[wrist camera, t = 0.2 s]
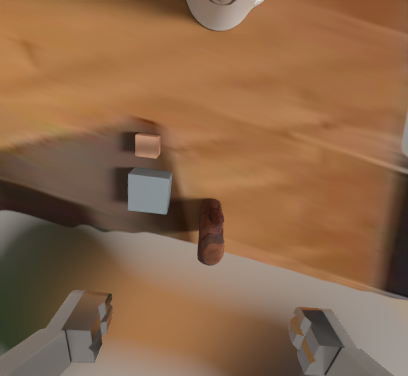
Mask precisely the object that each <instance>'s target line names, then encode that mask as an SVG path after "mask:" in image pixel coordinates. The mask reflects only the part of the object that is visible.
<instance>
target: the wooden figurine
mask: <svg viewBox="0 0 408 376" xmlns="http://www.w3.org/2000/svg"><path fill="white" fill-rule="evenodd" d="M223 222H224V217H223V213H222V209H221V204H220V201H218V200H215V199H207V200H206V201H204V203H203V205H202V207H201V212H200V223H199V241H198V260H199V261H200V262H201V263H203V264H206V265H214V264H217V263H218V262H219V261H220V260H221V259H222V257H223V253H224V239H223Z"/></svg>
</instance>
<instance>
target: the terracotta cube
mask: <svg viewBox="0 0 408 376" xmlns="http://www.w3.org/2000/svg"><path fill="white" fill-rule="evenodd" d="M160 143H161V135H159V134H151V133H144V132H140V133H138V134H136V135H135V156H140V157H149V158H157V157H158V156H159V155H160Z"/></svg>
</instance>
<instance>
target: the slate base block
mask: <svg viewBox="0 0 408 376" xmlns="http://www.w3.org/2000/svg"><path fill="white" fill-rule="evenodd" d="M171 181H172V172H168V171H160V170H152V169H144V168H137V167H135V168H134V169H133V170H132V171H131V172H130V173H129V174H128V210H131V211H140V212H149V213H158V214H167V211H168V208H169V204H170V192H171Z"/></svg>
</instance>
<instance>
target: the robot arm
mask: <svg viewBox="0 0 408 376" xmlns="http://www.w3.org/2000/svg"><path fill="white" fill-rule="evenodd" d="M186 1H187V4H188V6H189V9H190V11H191V13H192V14H193V16H194V17H195V18H196V20H197V21H198V22H199V23H201V24H202V25H203V26H205V27H206V28H209V29H211V30H216V31H224V30H228V29H231V28H233V27H235V26H236V25H238V24H239V23H240V22H241V21H242V20H243V19H244V18H245V17H246V16H247V14H248V13H249V12H250V10H251V9H252V8H254V7H256V6H258V5H259V4H261V3H262V2H263V1H264V0H186ZM111 301H112V294H111V293H101V292H92V291H81V290H74V291H72V292H71V293H70V294H69V296H68V297H67V299H66V300H65V302H64V303H63V304H62V306H61V307H60V309H59V310H58V311H57V313H56V314H55V316H54V317H53V319H52V320H51V321H50V323H49V324H48V326H47V327H46V329H40V330H39V331H37V332H36V333H35V334H33V335H31V336H30V337H29V338H27V339H26V340H24V341H23V342H21V343H20V344H19V345H17V346H15V347H14V348H12V349H11V350H10V351H8V352H7V353H5V354H4V355H2V356H1V357H0V376H60V375H61V374H62V373H63V372H64V371H65V369H67V368H68V367H69V365H70V364H71V363H94V362H95V360H96V358H97V355H98V353H99V350H100V348H101V346H102V336H103V335H104V334H106V333H107V331H108V329H109V326H110V323H111V319H112V314H113V307H112V306H111V305H110V303H111ZM294 315H295V317H294V318H292V319H291V320H290V323H289V334H290V338H291V341H292V344H293V345H294V346H295V347H296V348H297V349H298V354H297V356H298V359H299V361H300V363H301V366H302V369H303V371H304V374H307V375H318V376H393V375H392V374H391V373H390V372H388V371H387V370H386V369H385V368H384V367H382V366H381V365H380V364H379V363H377V362H376V361H375V360H374V359H373V358H371V357H370V356H369V355H368V354H367V353H365V352H364V351H363V350H362V349H358V348H357V347H356V345H355V344H354V342H353V341H352V339H351V338H350V336H349V335H348V333H347V332H346V330H345V329H344V327H343V325H342V324H341V322H340V321H339V319H338V318H337V317H336V315H335V313H334V312H333V311H332V310H331V309H318V308H305V307H297V308H296V309H295V311H294Z"/></svg>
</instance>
